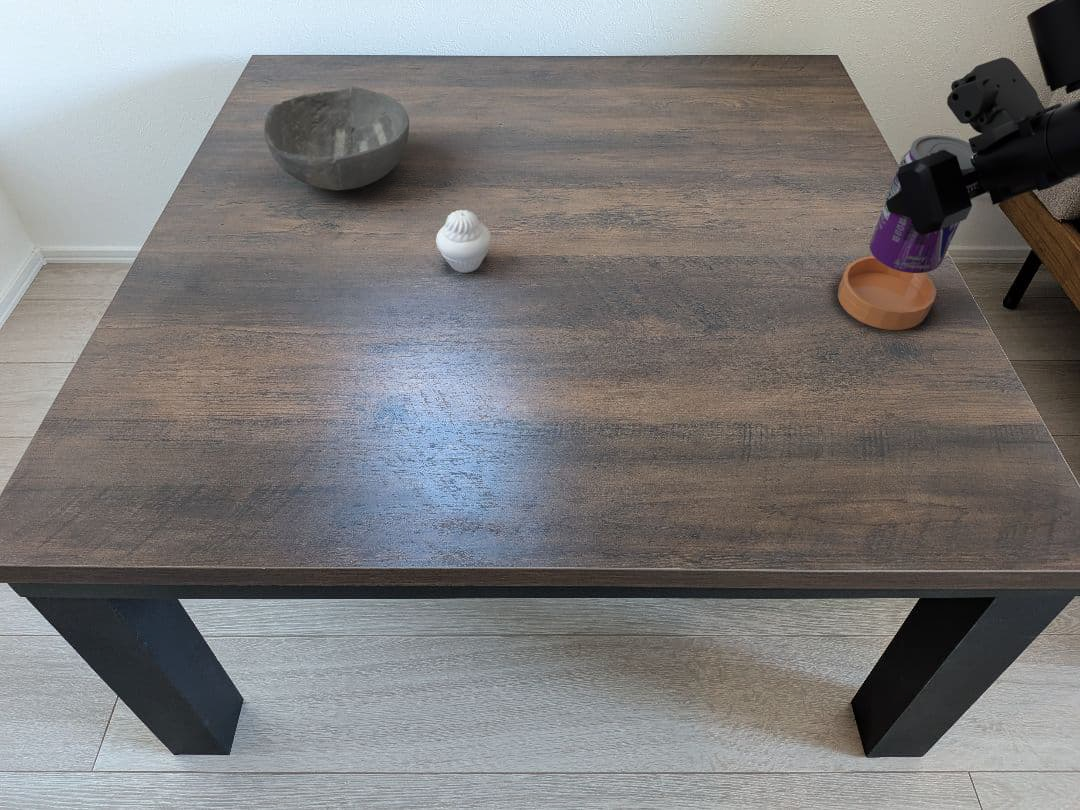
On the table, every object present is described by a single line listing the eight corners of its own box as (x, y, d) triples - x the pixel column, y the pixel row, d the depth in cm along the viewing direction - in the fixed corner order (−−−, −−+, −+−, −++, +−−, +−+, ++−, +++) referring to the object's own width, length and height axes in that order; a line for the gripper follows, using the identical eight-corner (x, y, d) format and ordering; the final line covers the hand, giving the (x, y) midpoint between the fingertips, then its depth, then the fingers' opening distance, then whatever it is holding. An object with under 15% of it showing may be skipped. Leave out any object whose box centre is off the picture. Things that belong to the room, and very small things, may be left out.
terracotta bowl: (921, 279, 88) (930, 261, 86) (932, 335, 82) (941, 317, 80) (835, 269, 89) (841, 251, 87) (839, 323, 83) (846, 305, 81)
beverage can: (913, 288, 78) (960, 181, 69) (853, 254, 81) (890, 148, 72) (953, 260, 80) (1003, 154, 72) (893, 229, 84) (934, 124, 75)
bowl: (419, 208, 97) (411, 149, 91) (273, 221, 95) (255, 162, 89) (412, 134, 109) (404, 78, 103) (282, 145, 107) (267, 88, 101)
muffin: (435, 252, 91) (428, 200, 86) (486, 244, 92) (483, 192, 87) (444, 285, 87) (437, 233, 82) (497, 276, 88) (495, 224, 83)
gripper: (1115, 17, 64) (954, 93, 79) (959, 69, 58) (816, 141, 73) (1152, 147, 66) (987, 198, 80) (1004, 212, 59) (854, 255, 74)
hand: (914, 196), depth 77 cm, fingers closed on beverage can, 7 cm apart
